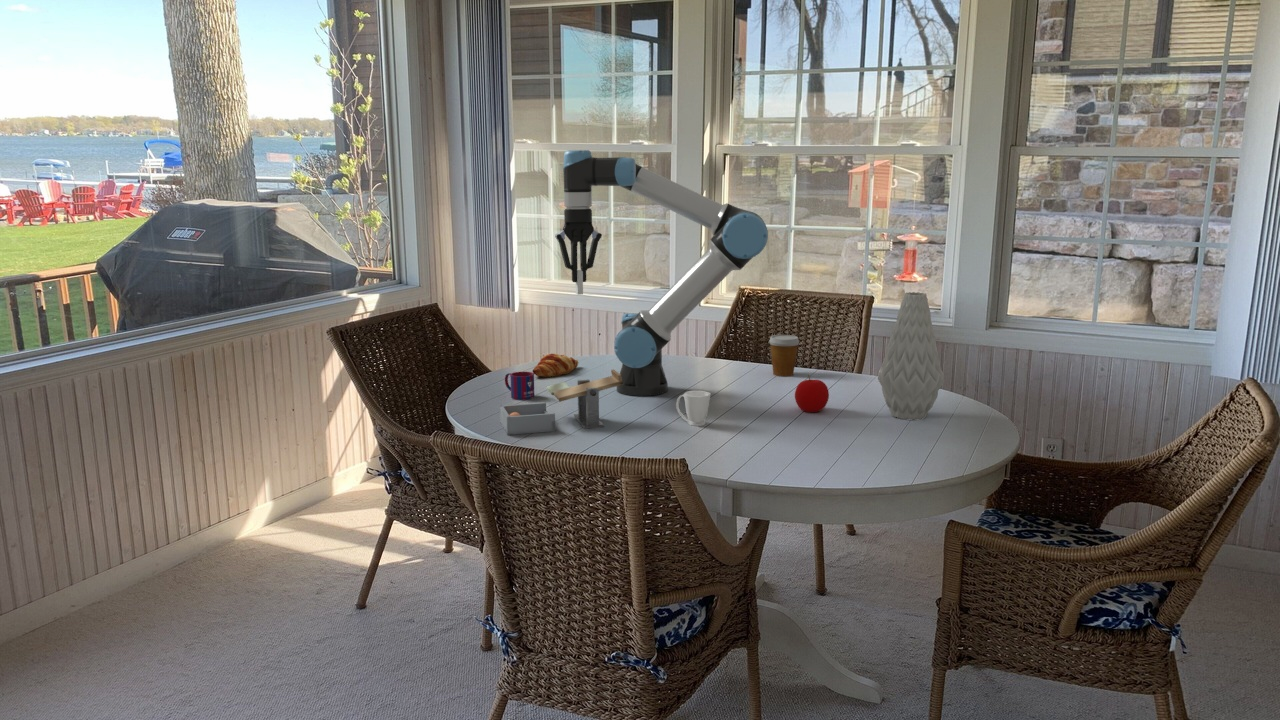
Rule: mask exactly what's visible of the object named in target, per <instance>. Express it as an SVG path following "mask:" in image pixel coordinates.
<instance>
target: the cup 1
mask: <svg viewBox="0 0 1280 720" xmlns="http://www.w3.org/2000/svg"><path fill="white" fill-rule="evenodd" d="M509 376H510V385H509V380H508V379H509ZM504 384H505V386H506V388H507V390H509V391H510V398H511V399H512V400H518V401H520V400H521V401H523V400H524V401H525V400H532V399H533V398H535V374H534V373H533V371H515V372H511V373H506V374H505V377H504Z"/></svg>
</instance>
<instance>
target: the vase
mask: <svg viewBox="0 0 1280 720" xmlns="http://www.w3.org/2000/svg"><path fill="white" fill-rule="evenodd" d="M927 296H928V295H927V293H925V292H915V291H913V292H911V291H909V292H904V293H903V298H902V300H901V302H900V308H899V310H898V312H897V318H896V322H895V324H894V327H893V330H892V333H891V335H890V338H889V341H888V345H887V347H886V350H885V355H884V358H883V362H882V364H881V367H880V368H879V371H878V375H877V380H878V382H879V384H880V385H881V391H882V396H883V398H884V401H885V404H886V405H887V408H888V410H889V413H890V415H891V416H892V417H894V418H896V417H897V418H896V419H900V418H901V419H900V420H905V419H919V420H923V419H922V418H924V417H925V418H927V416H928V414H929V412H930V410H931V408H933V406H934V404H935V402H936V399H937V398H938V394H939V390H940V389H941V388H942V387H943V385H944V379H945V378H944V372H943V370H942V368H941V362H940V356H939V351H938V347H937V343H936V336H935V332H934V327H933V322H932V316H931V310H930V306H929V301H928V297H927ZM925 418H924V419H925Z"/></svg>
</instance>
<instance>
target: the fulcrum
mask: <svg viewBox="0 0 1280 720" xmlns="http://www.w3.org/2000/svg"><path fill="white" fill-rule="evenodd" d="M588 382H591V381H590V379H578V380H577V385H580V384H584V383H588ZM599 393H600V391H599V388H586V395H583V396H579V397H577V413H576V414H573V418H574V419H575V420H576V421H577V422H578V423H579V424H580V425H581V427H582V428H583V429H593V428H594V429H595V428H605V427H604V426H605V425H604V424H603V423H602V422H601V420H600V397H599V396H600V394H599Z"/></svg>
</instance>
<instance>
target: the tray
mask: <svg viewBox="0 0 1280 720" xmlns="http://www.w3.org/2000/svg"><path fill="white" fill-rule="evenodd" d="M514 412H516V413H519V414H520V415H521V416H509V415H510V414H511V413H514ZM499 421H500V425H501V426H502V428H503V430H504V431H505V433H506V434H507V436H511V435H512V436H513V435H523V434H524V435H525V434H537V433H547V432H549V433H551V432H555V431H556V413H554V412H551V413H550V412H548V411H547V403H546V402H544V401H543V402H536V403H534V402H532V403H522V404H520V403H519V404H507V405H506V404H505V405H499Z"/></svg>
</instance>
